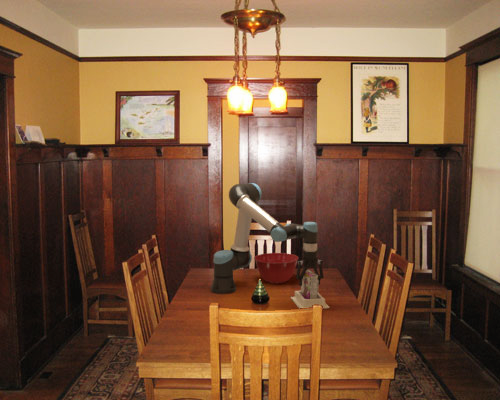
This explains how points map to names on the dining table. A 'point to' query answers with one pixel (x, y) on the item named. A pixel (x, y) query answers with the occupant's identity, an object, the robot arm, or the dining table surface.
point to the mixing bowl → (276, 266)
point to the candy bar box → (310, 285)
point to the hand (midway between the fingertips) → (309, 291)
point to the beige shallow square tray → (308, 301)
